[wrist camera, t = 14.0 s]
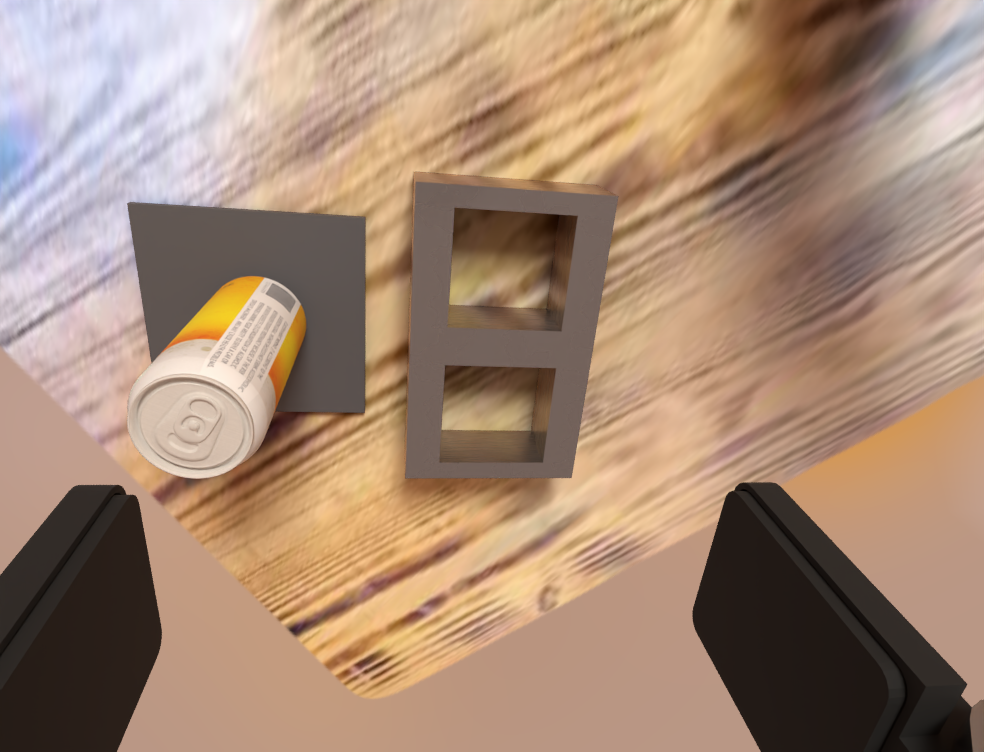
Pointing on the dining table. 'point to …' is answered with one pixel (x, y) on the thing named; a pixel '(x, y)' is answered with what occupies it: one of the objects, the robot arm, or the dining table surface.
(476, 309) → the cinder block
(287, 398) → the mat
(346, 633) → the dining table surface
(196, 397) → the beer can
